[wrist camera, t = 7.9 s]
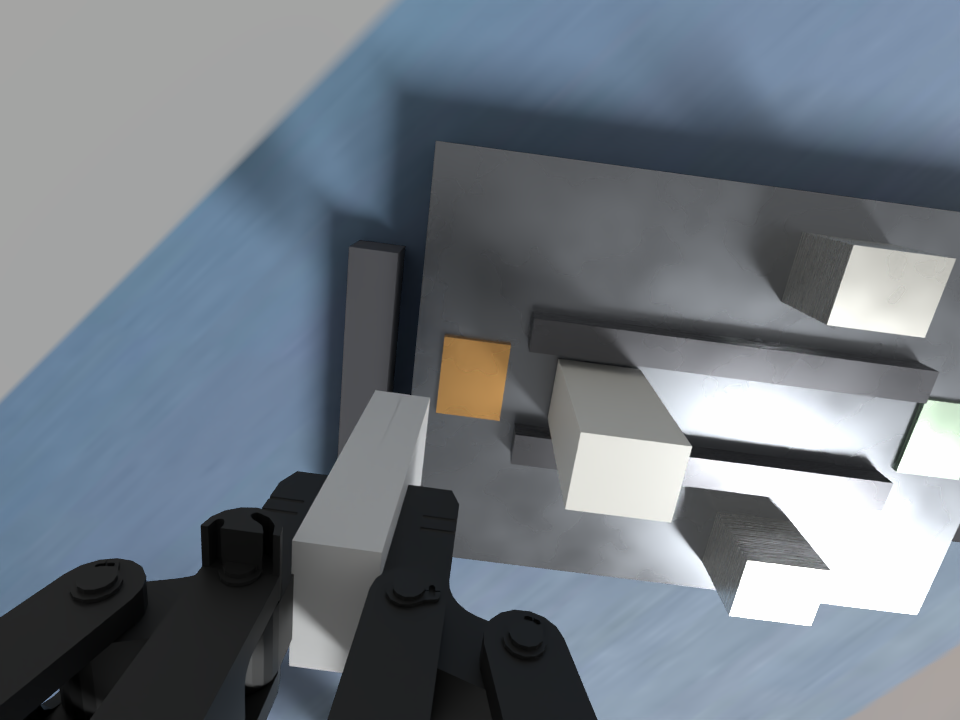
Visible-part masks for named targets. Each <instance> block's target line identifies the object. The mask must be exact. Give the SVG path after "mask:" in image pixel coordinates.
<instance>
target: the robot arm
mask: <svg viewBox="0 0 960 720" xmlns="http://www.w3.org/2000/svg"><path fill="white" fill-rule="evenodd" d="M429 404H430V398H429V397H422V396H414V395H407V394H400V393H392V392H385V391H377V390H375V392H374V394H373V396H372V397H371V399H370V401H369V403H368V405H367V406H366V408H365V410H364V412H363V414H362V415H361V417H360V419H359V421H358V423H357V425H356V426H355V428H354V430H353V432H352V434H351V435H350V437H349V439H348V441H347V443H346V444H345V446H344V448H343V450H342V452H341V453H340V455H339V457H338V459H337V461H336V462H335V464H334V466H333V468H332V470H331V471H330V473H329V475H321V474H314V473H307V472H299V471H297V472H295V473H294V474H292V475H291V476H289V477H287V478H286V479H284V480H283V481H281V482H280V483H279V484H278V486H277V487H276V489H275V490H274V491H273V493H272V494H271V496H270V499H268V500H267V502H266V503H265V504H264V506H263V507H262V509H259V508H242V507H241V508H236V509H231V510H225V511H223V512H221V513H218V514H216V515H214V516H212V517H210V518H209V519H208V520H206V521H205V522H204V523H203V524H202V525H201V545H202V567H201V569H200V570H199V571H198V573H197V574H196V575H194V576H190V577H184V578H178V579H168V580H158V581H148V582H146V575H145V573H144V570H143V568H142V567H141V566H140V565H138V564H137V563H135V562H133V561H130V560H124V559H118V558H115V559H104V560H97V561H94V562H91V563H87V564H84V565H81V566H79V567H77V568H75V569H73V570H71V571H69V572H67V573H65V574H64V575H62V576H61V577H59V578H58V579H56V580H55V581H53V582H52V583H50V584H49V585H48V586H46V587H45V588H43V589H42V590H40V591H39V592H37V593H36V594H34V595H33V596H31V597H30V598H28V599H27V600H25V601H24V602H22V603H21V604H19V605H18V606H16V607H15V608H14V609H12V610H11V611H9V612H8V613H6V614H5V615H3V616H2V617H0V720H266V719H267V717H268V715H269V712H270V710H271V708H272V705H273V703H274V700H275V698H276V696H277V693H278V689H279V684H280V665H281V663H282V661H283V659H284V656H285V654H286V652H287V650H288V647H289V645H290V650H289V666H294V667H302V668H309V669H317V670H324V671H332V672H339V673H342V676H341V679H340V682H339V685H338V689H337V692H336V695H335V698H334V701H333V704H332V707H331V710H330V714H329V717H328V720H597V718H596V715H595V713H594V710H593V708H592V705H591V703H590V701H589V698H588V696H587V693H586V691H585V688H584V686H583V683H582V681H581V679H580V676H579V674H578V671H577V669H576V666H575V664H574V662H573V659H572V657H571V654H570V652H569V649H568V647H567V644H566V642H565V640H564V638H563V636H562V635H561V633H560V632H559V630H558V629H557V627H556V626H555V625H553V624H552V623H551V622H550V621H548V620H547V619H546V618H544V617H542V616H540V615H537V614H535V613H532V612H530V611H521V610H511V611H507V612H502V613H500V614H498V615H497V616H495V617H494V618H492V619H491V620H490V621H487V620H484V619H482V618H479V617H477V616H475V615H473V614H471V613H470V612H468V611H466V610H465V609H464V608H463V607H461V606H460V605H459V604H458V603H457V601H456V600H455V599H454V597H453V596H452V593H451V591H450V587H449V578H450V571H451V563H452V556H453V548H454V541H455V533H456V526H457V518H458V511H459V503H458V501H457V499H456V497H455V495H454V493H453V491H452V490H445V489H438V488H430V487H423V486H421V478H422V469H423V460H424V451H425V441H426V432H427V423H428V414H429ZM58 689H60V691H59V692H58V693H57V694H56V695H55V696H53V697H52V698H51V699H49V700H47V701H46V702H44V701H45V700H46V699H47V698H49V697H50V696H51V695H52V694H53V693H54V692H56V691H57V690H58ZM43 702H44V703H43ZM42 703H43V704H42Z"/></svg>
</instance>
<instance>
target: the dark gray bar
mask: <svg viewBox="0 0 960 720" xmlns="http://www.w3.org/2000/svg"><path fill="white" fill-rule="evenodd" d="M404 256H405V246H400V245H392V244H385V243H377V242H370V241H362V240H359V241H358V242H356V243H355V244H353V245H351V246H350V247H349V258H348V276H347V295H346V314H345V332H344V351H343V369H342V388H341V406H340V425H339V443H338V457H339V455H340V453H341V452H342V450H343V448H344V446H345V444H346V443H347V441H348V439H349V437H350V435H351V434H352V432H353V430H354V428H355V426H356V425H357V423H358V421H359V419H360V417H361V415H362V414H363V412H364V410H365V408H366V406H367V405H368V403H369V401H370V399H371V397H372V396H373V394H374V392H375V390H377V391H385V392H392V393H393V385H394V373H395V361H396V350H397V338H398V326H399V315H400V303H401V291H402V279H403V268H404Z"/></svg>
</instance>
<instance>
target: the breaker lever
mask: <svg viewBox="0 0 960 720" xmlns="http://www.w3.org/2000/svg"><path fill="white" fill-rule="evenodd" d="M548 423H549V429H550V434H551V439H552V444H553V449H554V455H555V460H556V465H557V470H558V475H559V480H560V486H561V491H562V496H563V501H564V506H565V509H566V510H574V511H582V512H590V513H598V514H606V515H614V516H622V517H630V518H638V519H646V520H654V521H661V522H669V523H671V521H672V518H673V514H674V511H675V507H676V503H677V500H678V496H679V493H680V489H681V485H682V482H683V478H684V475H685V471H686V467H687V464H688V460H689V457H690V453H691V449H692V445H691V444H690V443H689V441H688V440H687V438H686V437H685V435H684V434H683V432H682V431H681V429H680V428H679V426H678V425H677V423H676V422H675V420H674V419H673V417H672V416H671V414H670V413H669V411H668V410H667V408H666V407H665V405H664V404H663V402H662V401H661V399H660V398H659V397H658V395H657V394H656V392H655V391H654V389H653V388H652V386H651V385H650V383H649V382H648V380H647V379H646V377H645V376H644V374H643V373H642V371H641V370H640V369H633V368H625V367H618V366H610V365H602V364H595V363H587V362H579V361H572V360H564V359H558V364H557V370H556V375H555V381H554V386H553V392H552V397H551V403H550V408H549V414H548Z"/></svg>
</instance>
